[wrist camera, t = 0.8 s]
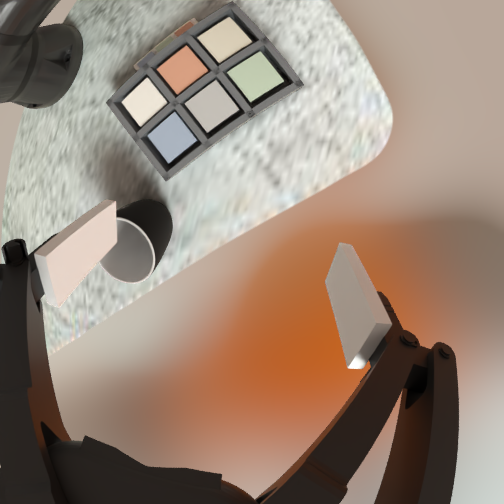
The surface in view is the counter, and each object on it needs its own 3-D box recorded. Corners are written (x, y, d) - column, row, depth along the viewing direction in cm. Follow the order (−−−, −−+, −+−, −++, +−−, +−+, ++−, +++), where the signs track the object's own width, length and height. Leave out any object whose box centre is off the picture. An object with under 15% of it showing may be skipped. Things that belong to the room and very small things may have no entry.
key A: (153, 134, 31) (147, 135, 29) (179, 111, 29) (174, 111, 28) (174, 160, 32) (168, 163, 31) (201, 138, 31) (197, 140, 29)
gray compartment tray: (111, 89, 29) (95, 87, 26) (223, 0, 23) (217, -13, 19) (177, 173, 35) (165, 181, 31) (300, 88, 29) (304, 84, 25)
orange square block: (162, 71, 27) (156, 69, 25) (191, 49, 25) (186, 45, 24) (182, 95, 28) (177, 94, 27) (212, 73, 27) (208, 70, 25)
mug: (147, 179, 36) (111, 201, 27) (193, 220, 38) (169, 254, 29) (108, 233, 40) (74, 264, 31) (148, 269, 43) (122, 307, 34)
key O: (128, 102, 29) (121, 102, 27) (153, 79, 27) (147, 77, 26) (147, 126, 30) (140, 127, 29) (173, 103, 29) (167, 102, 27)
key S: (201, 41, 25) (197, 37, 23) (231, 22, 24) (229, 16, 22) (222, 66, 27) (219, 63, 25) (253, 46, 25) (252, 41, 23)
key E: (229, 75, 27) (226, 72, 25) (260, 55, 26) (260, 51, 24) (251, 103, 29) (250, 102, 27) (283, 83, 27) (284, 81, 25)
